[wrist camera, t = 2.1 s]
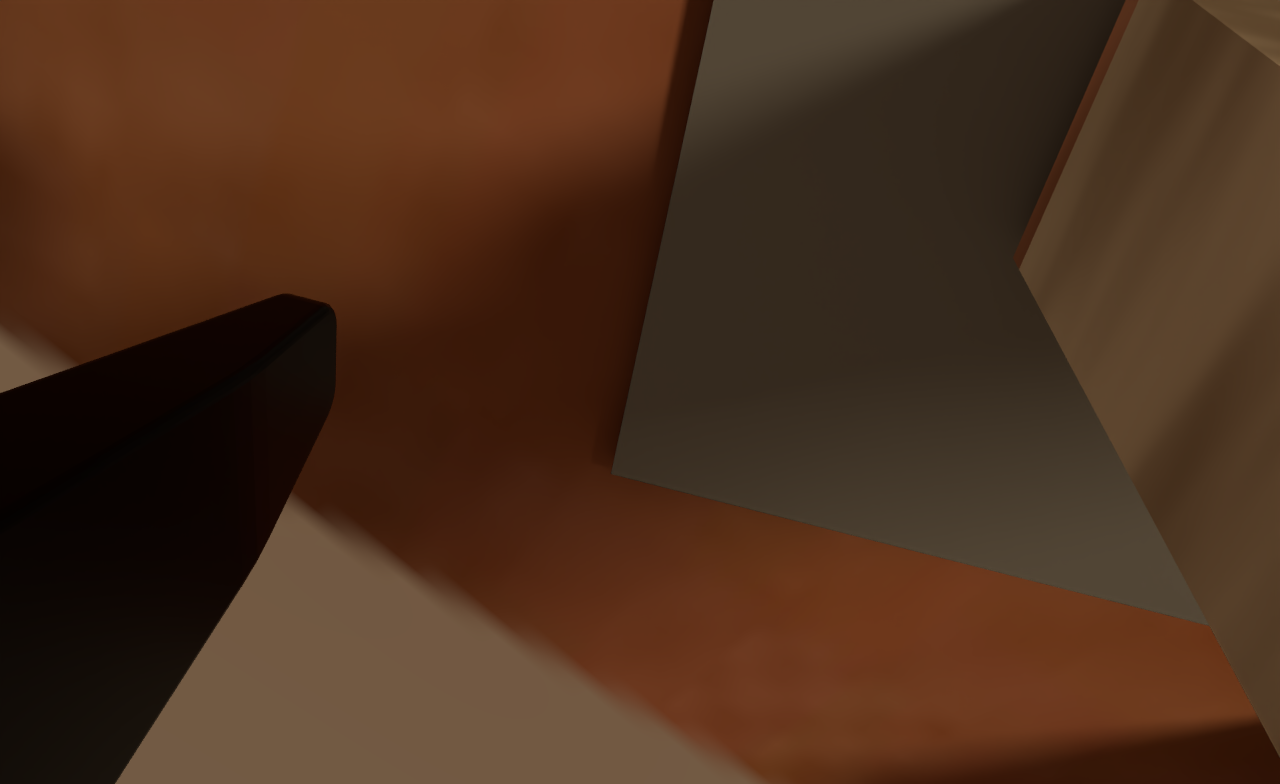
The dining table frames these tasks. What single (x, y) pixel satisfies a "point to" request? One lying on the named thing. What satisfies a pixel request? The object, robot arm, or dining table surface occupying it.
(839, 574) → the dining table surface
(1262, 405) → the birch pillar
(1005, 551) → the flip mat
